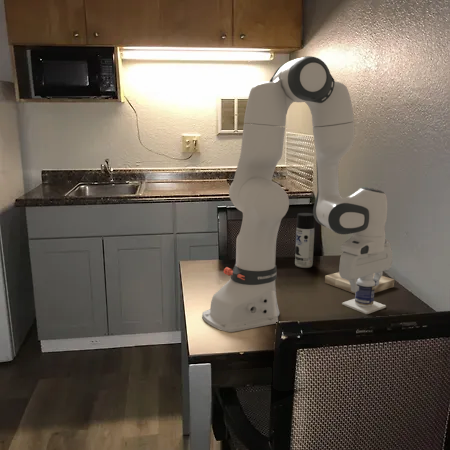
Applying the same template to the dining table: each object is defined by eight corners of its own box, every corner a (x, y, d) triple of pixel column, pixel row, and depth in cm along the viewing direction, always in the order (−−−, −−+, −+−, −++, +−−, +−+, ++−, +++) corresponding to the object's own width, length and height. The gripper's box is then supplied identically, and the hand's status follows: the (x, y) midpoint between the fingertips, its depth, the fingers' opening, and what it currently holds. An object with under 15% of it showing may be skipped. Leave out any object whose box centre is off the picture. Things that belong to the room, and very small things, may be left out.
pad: (366, 314, 135) (366, 312, 135) (342, 304, 142) (342, 302, 142) (385, 307, 140) (386, 305, 140) (361, 298, 147) (361, 296, 147)
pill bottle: (374, 308, 138) (376, 276, 136) (355, 306, 139) (357, 275, 137) (372, 301, 143) (375, 270, 141) (354, 299, 144) (356, 269, 142)
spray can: (291, 263, 182) (293, 212, 178) (307, 262, 184) (310, 212, 180) (299, 268, 176) (301, 216, 172) (315, 267, 178) (318, 215, 174)
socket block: (363, 296, 149) (363, 289, 148) (324, 282, 161) (325, 275, 161) (393, 286, 158) (394, 279, 157) (355, 274, 170) (355, 267, 170)
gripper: (381, 236, 145) (378, 278, 148) (336, 245, 134) (333, 291, 137) (399, 240, 140) (395, 284, 144) (354, 250, 129) (351, 298, 132)
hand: (365, 288), depth 140 cm, fingers open, 8 cm apart
